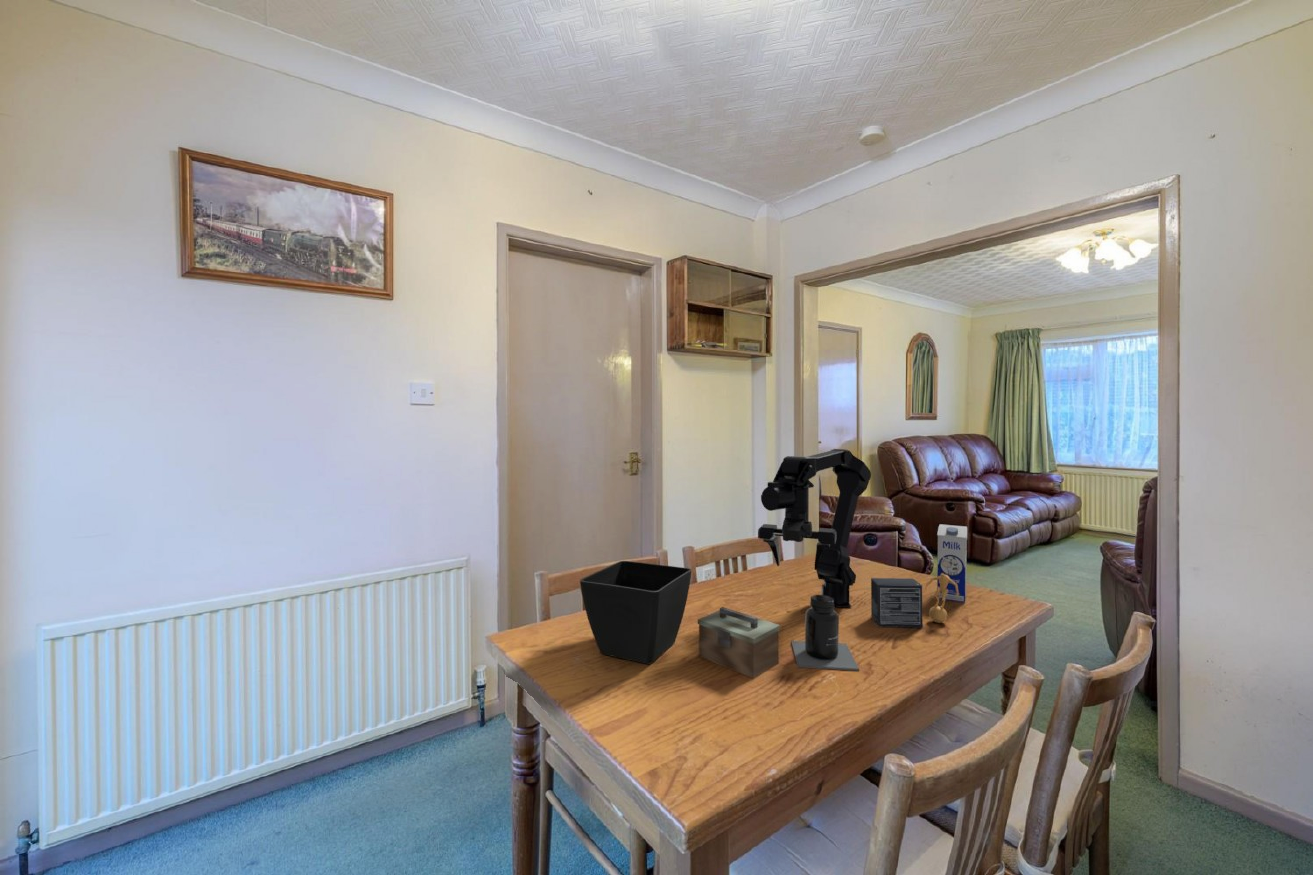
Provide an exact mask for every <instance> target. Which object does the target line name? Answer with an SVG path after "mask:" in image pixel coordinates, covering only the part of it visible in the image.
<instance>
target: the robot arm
mask: <svg viewBox="0 0 1313 875" xmlns="http://www.w3.org/2000/svg"><path fill="white" fill-rule="evenodd" d="M830 468H832V472H833V473H834V474H835V475H836V485H837V487H838V488H837V489H838V490H839V495H838V499H837V504H836V507H835V511H834V514H833V515H834V516H833V520H832V524H831V528H825V527H820V528H819V530H818V531H815V530H813V525H812V521H809V520H810V516H809V515H810V514H809V512H810V511H809V506H810V502H809V501H810V499H809V498H810V497H809V496H810V494H809V493H810V492H809V489H810V488H812V489H813V488H814V487H815V486H814V483H813V482H811V481H810V480H811V479H812V478H814V477H816V475H817V473H818V472H820V471H824V470H827V469H830ZM871 478H872V473H871V470H870V469H869V467H868V466H867V465H866V463H865V462H864V461H863V460H861V459H860V458H858V457H857V456H855V455H854V454H853V453H852V451H850V450H848V449H845V448H843V449H842V448H833V449H831V450H829V451H825V452H824V451H823V452H819V453H816V454H812V455H808V456H798V455H797V456H795V455H794V456H793V455H792V456H790V455H787V456H785V457H784V458H783V459H782V462H781V464H780V465H779V468H778V470H777V472H776V474H775V476H774V478H773V480H772V481H768V482H767V487H765V488H764V489H763V491H762V493H761V494H760V502H761V504H762V505H763V506H762V507H764V509H765V510H767V511H771V512H772V511H777V510H778V511H779V510H785V511H784V519H783V522H782V526H781V528H778V526H777V524H769V523H764V524H762V525H761V526H760V527H759V528H758V529H757V538H758V539H760V540H762V539H763V540H762V542H764V543H767V544H768V546H769V547H770V549H771V552H772V555H773V557H774V560H775V563H776V566H777V567H779V566H780V563H781V557H780V556H781V555H780V554H781V553H780V540H779V537H782V540H783V541H785V542H789V541H791V542H797V543H801V542H803V541H804V539H811V540H812V539H813V540H817V544H816V551H815V557H814V558H815V559H814V570H815V571H816V574H817V575H816V576H817V579H818V580H823V584H822V585H821V595H826V596H829V597H832V598H833V599H834V608H852V605H851V603H850V587H851V586H854V584H855V583H856V580H857V575H856V573H855V572H854V570H853V569H852V568H851V566H850V564H851V558H850V554H849V551H848V542H849V539H850V534H851V530H852V527H853V521H854V517H855V512H856V508H857V504H858V501H859V497H860V496H861V495H862V494H864V492H865V491H866V490H867V488H868V485H869V483H870V480H871Z"/></svg>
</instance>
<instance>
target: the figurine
mask: <svg viewBox="0 0 1313 875" xmlns="http://www.w3.org/2000/svg"><path fill="white" fill-rule="evenodd" d="M938 579H939V583H940V588H939V587H937V586H936V590H935V592H934V598H935V599H936V603H935V604H934V606H932V607H930V609H929V611H928V615H929V618H930V619H931V621H932V622H934V623H937V624H942V623H945V622H946V620H947V619H948V612H947V610H946V609H945V608H944V606H945V602H946V601H947V600H945V599H944V598H945V597H946V595H947V593H948V589H946V587H947V585H948V583H949V582H950V583H952V584H953V585H955V587H956V592H957V594H956V595H957V596H956V597H957V598H959V593H958V585H957V584H956V583H955V582H953V581H952V580H951V579H950V578H949V576H948V575H945V574H943V573H941V575H940V576H938V577H937V576H935V577H932V578H930V580H929V581H928V582H927V584H925V588H924V590H926V589H927V587H928V586H929V585H930V584H931V583H932V582H933V581H936V580H938ZM940 592H942V593H941V594H942V599H941V600H942V604H941V605H940V606H939V603H940V599H939V597H937V596H938V595H939V594H940Z"/></svg>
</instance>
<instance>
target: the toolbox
mask: <svg viewBox="0 0 1313 875" xmlns="http://www.w3.org/2000/svg"><path fill="white" fill-rule="evenodd" d="M697 624H698V648H699V649H698V656H699V657H701V658H703V659H706V660H708V661H710V662H712V663H715V664H717V665H720V666H723V667H725V668H727V669H730V670H732V671H735V672H737V673H739V674H742V675H745V676H747V677H750V678H752V679H755V678H757V677H758V676H760V675H762V674H764V673H765V672H767V671H768V670H770V669H772V668H774V667H775V666H776V665H778V664H779V663H780V661H779V660H780V658H779V656H780V652H779V650H780V649H779V648H780V647H779V646H780V644H779V643H780V642H779V641H780V640H779V639H780V638H779V634H780V633H779V631H781V624H777V623H774V622H771V621H768V620H764V619H761V618H758V617H756V616H753V615H749V614H746V613H744V612H740V611H737V610H733V609H730V608H728V607H724V606H722V607H719V609H718V610H716V611H714V612H712V613H709V614H706V615H704V616H702V617H699V618H698V619H697Z"/></svg>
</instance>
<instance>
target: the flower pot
mask: <svg viewBox="0 0 1313 875" xmlns="http://www.w3.org/2000/svg"><path fill="white" fill-rule="evenodd" d="M691 578H692V569H691V568H690V567H681V566H673V565H663V564H657V563H647V562H640V561H629V560H620V561H618V562H615V563H613V564H610V565H609V566H606V567H604V568H602V569H600V570H597V571H596V572H593V573H591V574H589V575H587V576H584V577H583V578H581V579H579V584H580V590H581V596H582V600H583V605H584V610H585V613H586V618H587V620H588V624H589V627H590V630H591V633H592V635H593V637H594V640H595V643H596V646H597V648H598V650H599V653H600V654H602V655H606V656H610V657H615V658H619V659H624V660H628V661H634V662H638V663H642V664H643V663H644V664H649V665H650V664H652V663H654V662H655V661H657V659H658V658H660V657H661V655H663V654H664V653H665V652H666V651H667V650H668V649H670V647H672V646H673V645H674V644H675V642H676V640H677V637H678V634H679V630H680V627H681V624H682V620H683V617H684V614H685V613H684V612H685V609H686V605H687V601H688V595H689V591H690V584H691Z"/></svg>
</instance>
